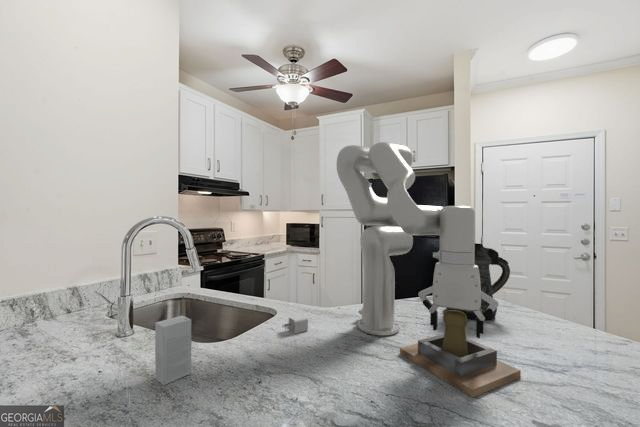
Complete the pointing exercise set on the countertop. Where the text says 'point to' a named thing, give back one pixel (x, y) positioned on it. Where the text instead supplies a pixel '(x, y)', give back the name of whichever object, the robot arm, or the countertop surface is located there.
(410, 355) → the shaker holder
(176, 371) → the skincare box
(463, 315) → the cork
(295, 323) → the usb wall charger
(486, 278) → the beer stein
